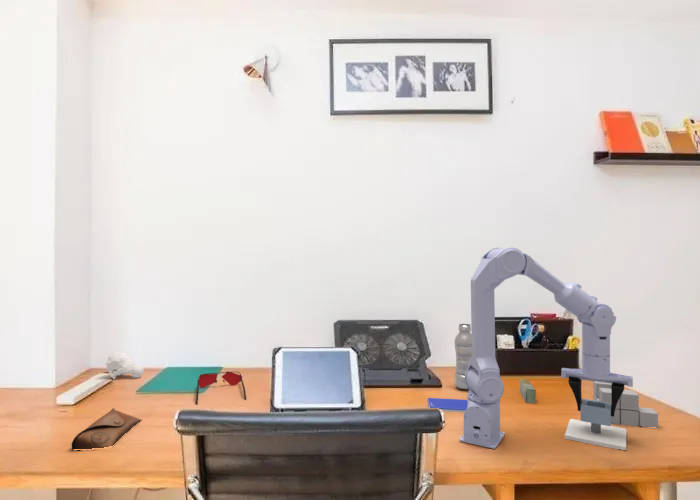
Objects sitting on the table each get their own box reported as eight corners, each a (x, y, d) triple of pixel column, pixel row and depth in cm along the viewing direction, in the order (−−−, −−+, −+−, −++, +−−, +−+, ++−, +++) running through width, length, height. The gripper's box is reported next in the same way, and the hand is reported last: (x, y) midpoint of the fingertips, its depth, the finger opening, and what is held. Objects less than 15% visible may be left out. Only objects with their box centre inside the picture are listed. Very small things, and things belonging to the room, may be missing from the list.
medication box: (536, 404, 126) (536, 390, 126) (526, 403, 127) (526, 389, 127) (528, 391, 138) (528, 378, 138) (518, 391, 139) (519, 378, 139)
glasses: (242, 385, 145) (242, 369, 145) (246, 401, 129) (246, 383, 129) (196, 388, 141) (196, 372, 141) (195, 406, 125) (195, 388, 125)
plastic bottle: (478, 387, 141) (478, 324, 141) (471, 393, 135) (471, 327, 136) (458, 384, 145) (458, 322, 145) (451, 389, 139) (451, 325, 139)
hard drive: (429, 406, 120) (476, 409, 119) (427, 397, 129) (471, 399, 127) (429, 412, 120) (476, 415, 119) (427, 402, 129) (471, 404, 127)
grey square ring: (610, 426, 100) (610, 410, 100) (580, 420, 104) (580, 405, 104) (611, 417, 106) (611, 403, 106) (582, 412, 109) (582, 398, 109)
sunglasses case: (112, 449, 96) (96, 423, 96) (82, 467, 95) (66, 441, 95) (144, 418, 114) (130, 396, 114) (119, 433, 113) (105, 411, 113)
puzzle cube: (658, 429, 108) (658, 396, 108) (602, 423, 112) (602, 391, 112) (643, 412, 120) (643, 383, 120) (593, 407, 124) (593, 379, 124)
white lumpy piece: (116, 349, 155) (149, 353, 154) (114, 373, 155) (147, 378, 154) (105, 353, 149) (139, 357, 148) (102, 378, 149) (136, 383, 148)
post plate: (626, 451, 96) (626, 426, 96) (564, 438, 102) (564, 415, 102) (626, 432, 106) (626, 410, 106) (570, 421, 113) (570, 401, 113)
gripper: (632, 354, 104) (632, 413, 104) (563, 347, 112) (563, 402, 112) (632, 360, 98) (632, 422, 98) (560, 352, 106) (560, 410, 106)
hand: (596, 412), depth 104 cm, fingers closed on grey square ring, 6 cm apart
